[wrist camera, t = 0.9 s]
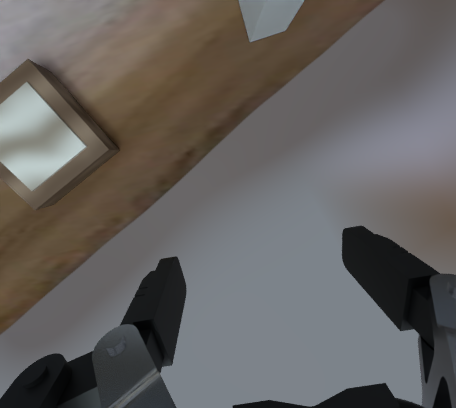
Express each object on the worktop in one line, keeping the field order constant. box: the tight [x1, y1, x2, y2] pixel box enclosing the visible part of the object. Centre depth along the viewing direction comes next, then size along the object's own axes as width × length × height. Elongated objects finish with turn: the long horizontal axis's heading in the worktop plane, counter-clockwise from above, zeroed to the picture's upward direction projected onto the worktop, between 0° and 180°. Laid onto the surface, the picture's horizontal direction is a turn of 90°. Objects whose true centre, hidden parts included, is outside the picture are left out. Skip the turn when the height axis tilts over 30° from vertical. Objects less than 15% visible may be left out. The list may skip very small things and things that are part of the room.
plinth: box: [0, 59, 120, 210], centre depth 31 cm, size 14×14×4 cm
